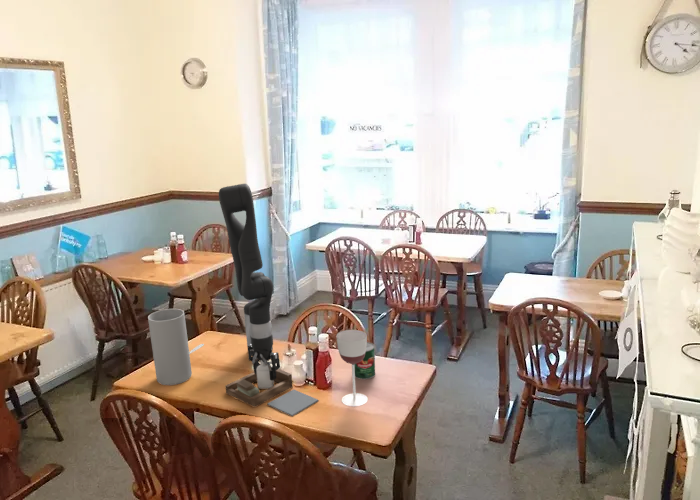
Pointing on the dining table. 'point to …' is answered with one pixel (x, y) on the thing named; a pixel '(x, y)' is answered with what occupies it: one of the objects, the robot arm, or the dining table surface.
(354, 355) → the wineglass
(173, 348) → the cylinder vase
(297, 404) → the grey rubber mat
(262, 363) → the eye dropper bottle
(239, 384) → the offcut stack
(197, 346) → the butter knife
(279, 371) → the frame
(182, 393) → the dining table surface
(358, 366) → the canned tomato
